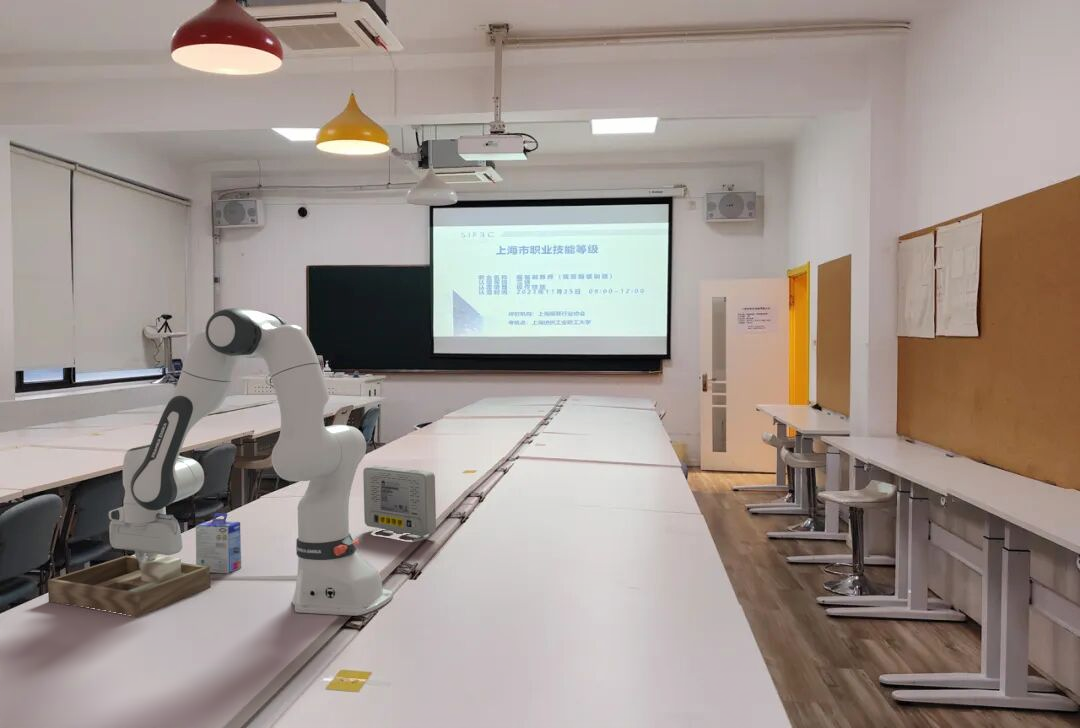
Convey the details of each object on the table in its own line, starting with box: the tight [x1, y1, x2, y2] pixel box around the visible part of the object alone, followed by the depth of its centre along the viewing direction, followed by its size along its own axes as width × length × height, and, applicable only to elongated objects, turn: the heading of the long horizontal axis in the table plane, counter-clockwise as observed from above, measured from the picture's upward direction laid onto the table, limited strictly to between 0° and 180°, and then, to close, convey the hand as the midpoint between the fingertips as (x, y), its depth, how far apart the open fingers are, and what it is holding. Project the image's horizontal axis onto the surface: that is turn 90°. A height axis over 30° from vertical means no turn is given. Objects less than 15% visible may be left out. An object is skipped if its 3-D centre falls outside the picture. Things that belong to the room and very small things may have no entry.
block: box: [141, 555, 182, 583], centre depth 172 cm, size 6×6×4 cm
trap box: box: [47, 555, 211, 618], centre depth 170 cm, size 28×20×5 cm
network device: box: [362, 465, 437, 543], centre depth 218 cm, size 26×9×20 cm, turn 58°
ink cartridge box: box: [195, 512, 242, 574], centre depth 187 cm, size 10×6×14 cm, turn 78°
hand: (146, 569), depth 174 cm, fingers closed
